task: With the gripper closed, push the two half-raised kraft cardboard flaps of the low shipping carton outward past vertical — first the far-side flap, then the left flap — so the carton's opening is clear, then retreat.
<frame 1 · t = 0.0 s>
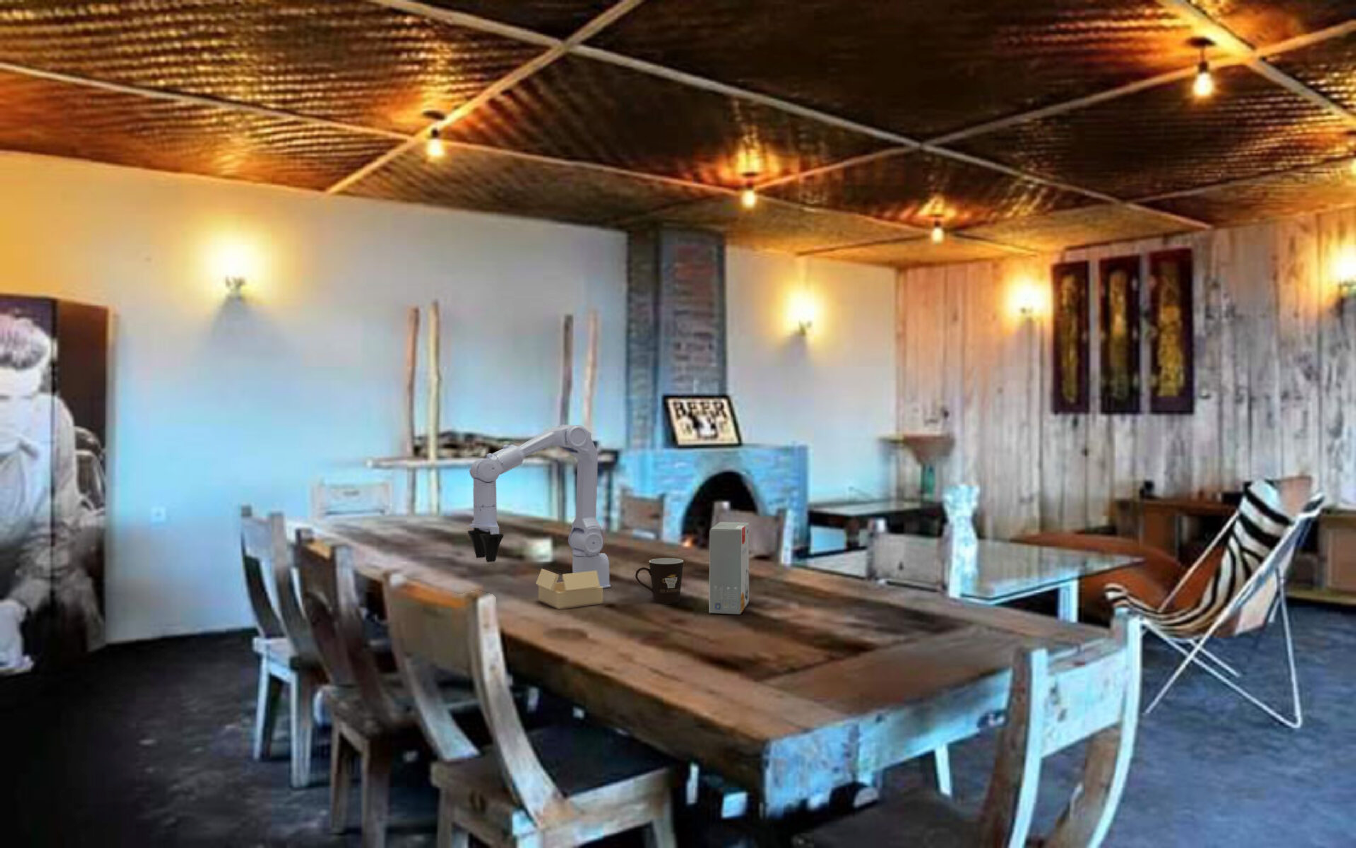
hand: (485, 559, 239), 10 cm above the table, fingers open, 7 cm apart
hard drive box: (729, 608, 227), on the table
flap far: (547, 579, 231), point 6 cm above the table, hinge at 65.0°
coffee mug: (660, 601, 235), on the table
flap left: (580, 580, 229), point 6 cm above the table, hinge at 65.0°
carton: (570, 602, 235), on the table
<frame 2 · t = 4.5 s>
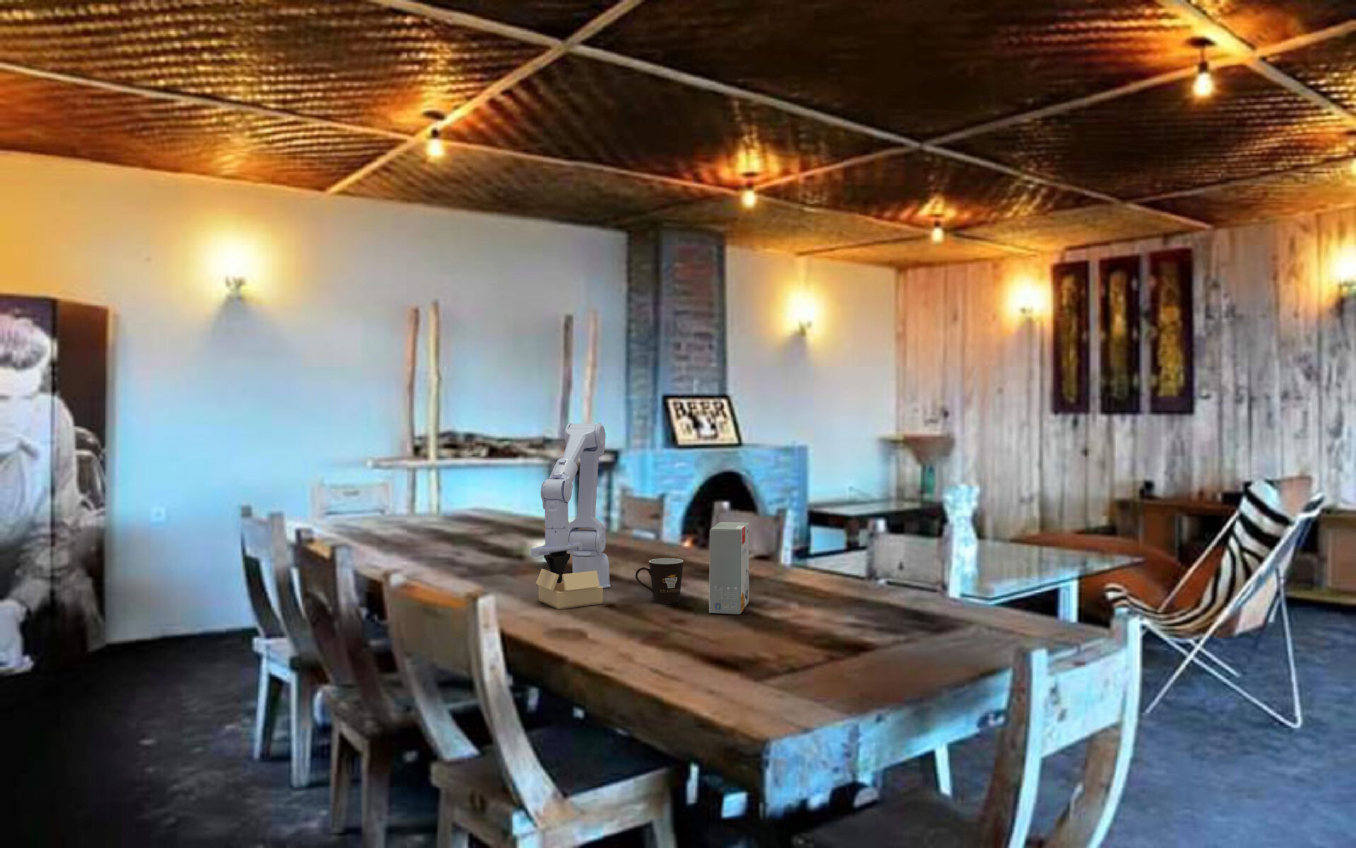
hand: (557, 582, 232), 5 cm above the table, fingers closed, pressing on flap far
flap far: (547, 579, 231), point 6 cm above the table, hinge at 65.3°, touching gripper
everything else where it was.
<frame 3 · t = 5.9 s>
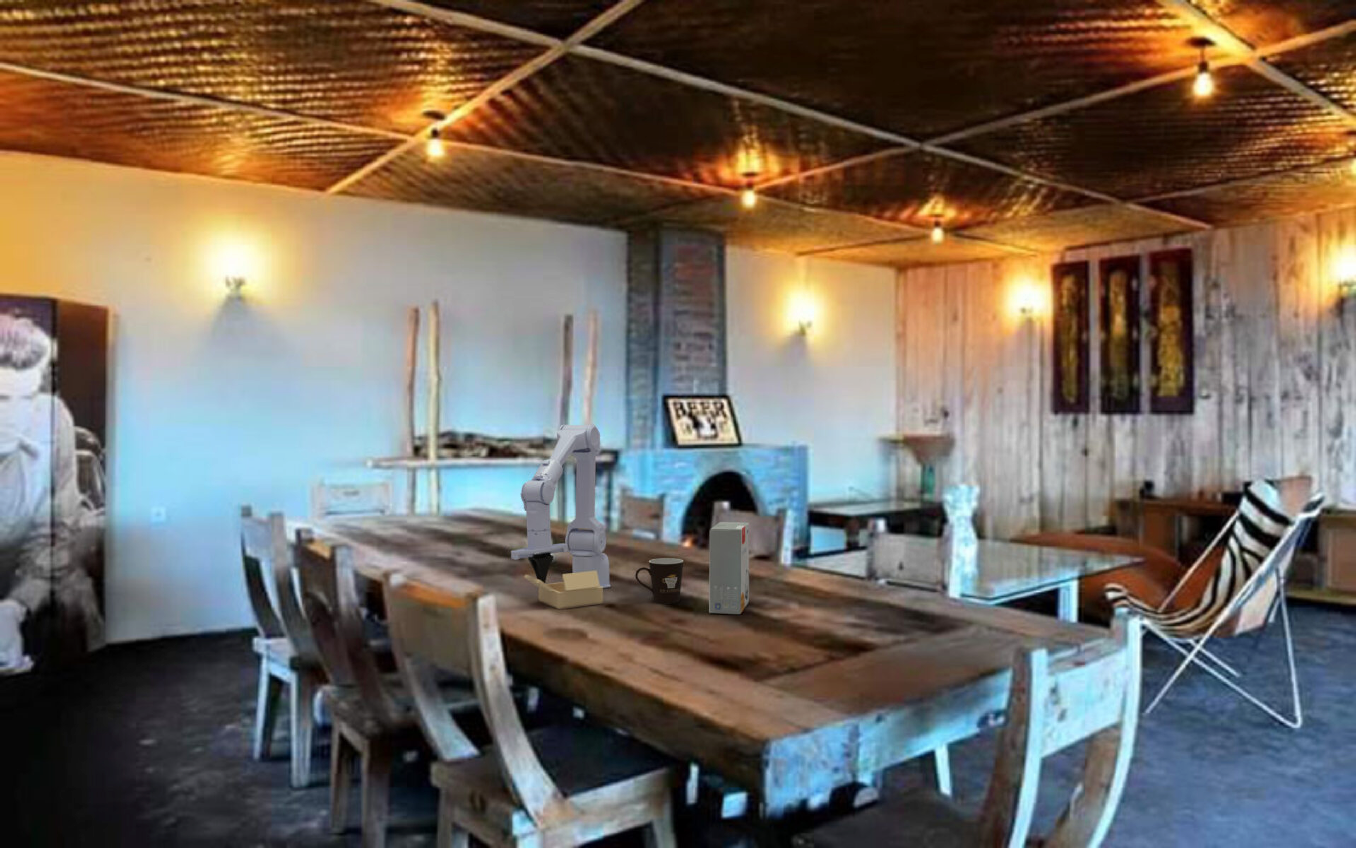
hand: (540, 584, 230), 5 cm above the table, fingers closed, pressing on flap far
flap far: (538, 582, 230), point 6 cm above the table, hinge at 142.5°, touching gripper
everything else where it was.
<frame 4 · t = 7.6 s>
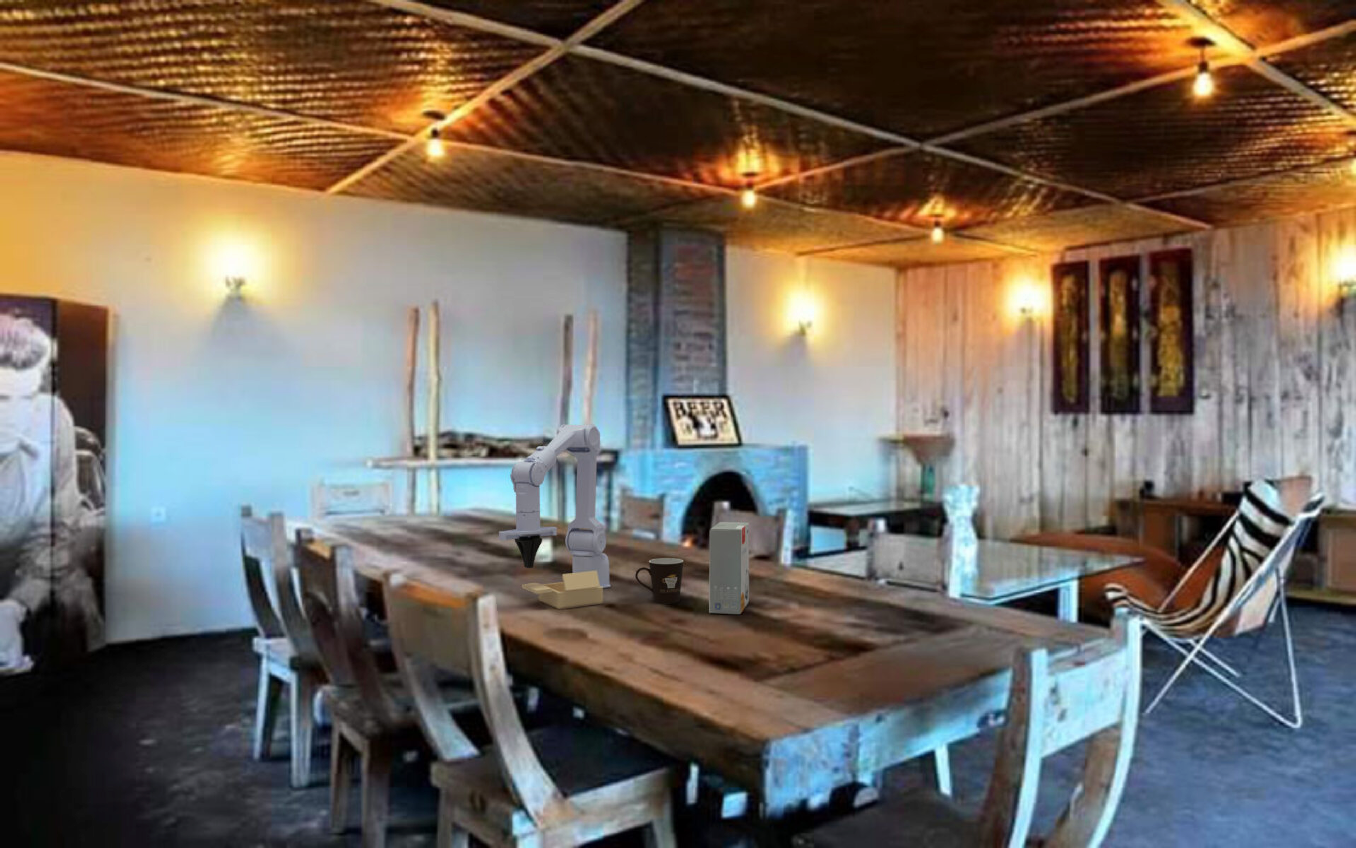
hand: (528, 567, 229), 10 cm above the table, fingers closed
flap far: (536, 588, 230), point 4 cm above the table, hinge at 180.6°
everything else where it was.
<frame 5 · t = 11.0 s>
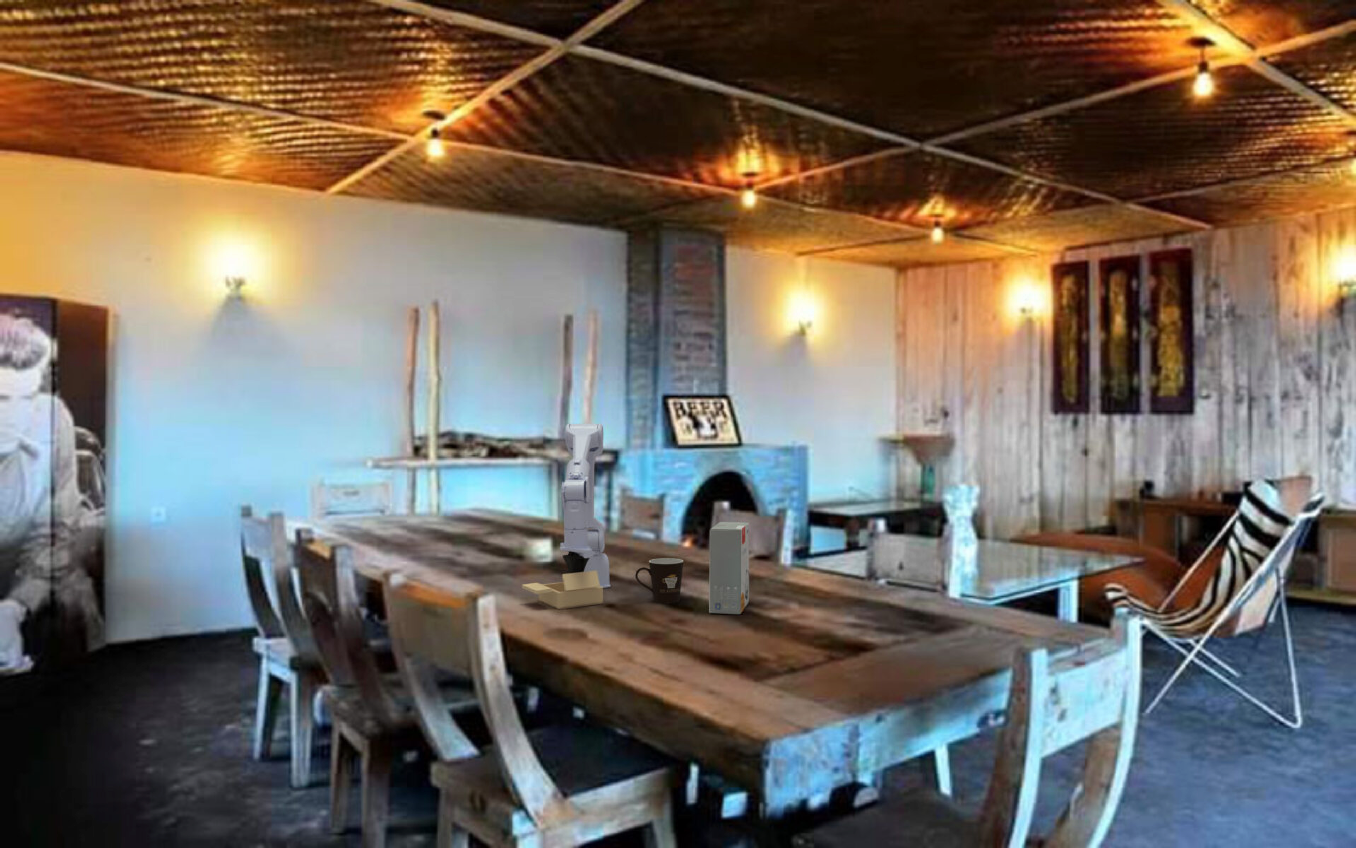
hand: (576, 583, 231), 5 cm above the table, fingers closed
flap far: (536, 588, 230), point 4 cm above the table, hinge at 181.1°
flap left: (580, 580, 229), point 6 cm above the table, hinge at 65.0°, touching gripper
everything else where it was.
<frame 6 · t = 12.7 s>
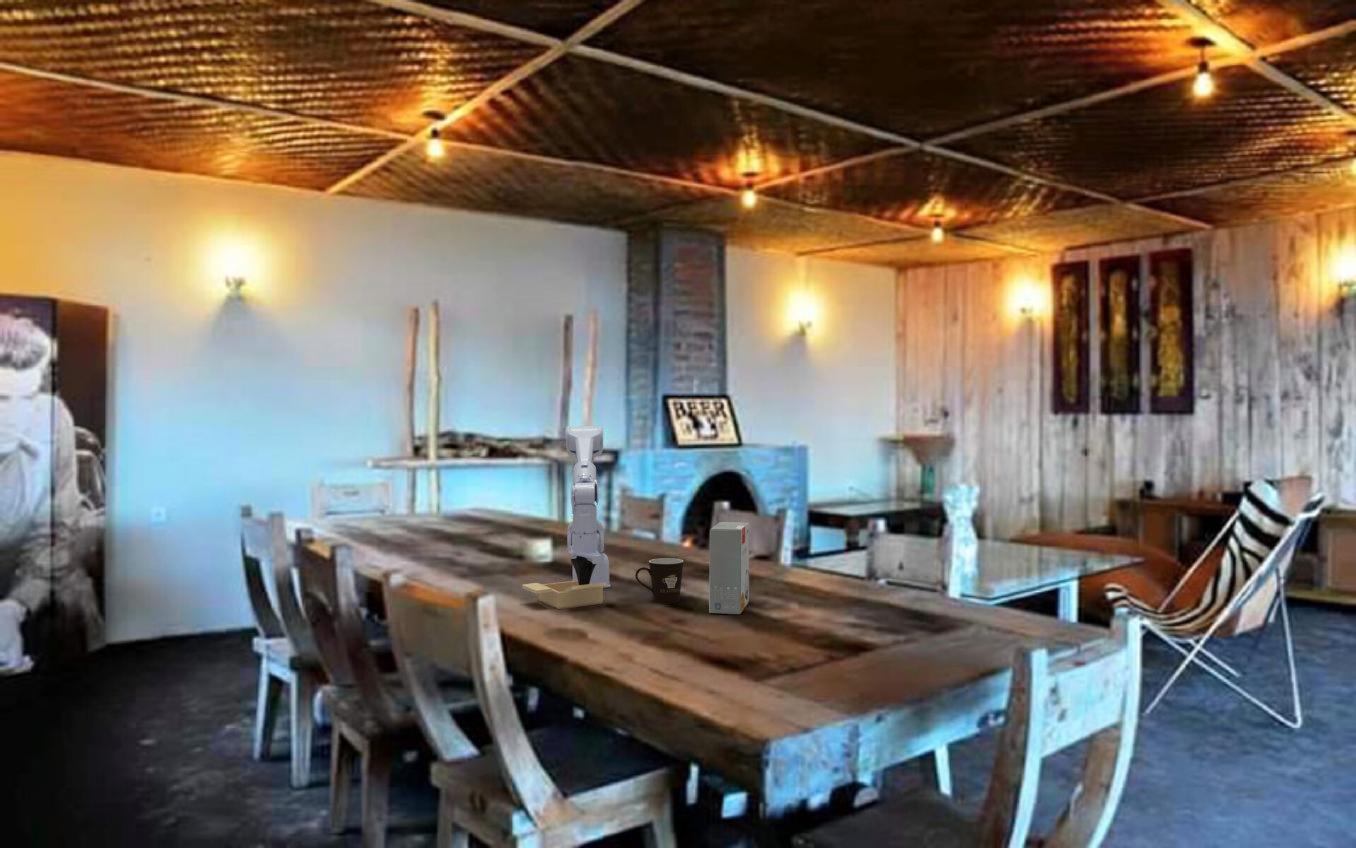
hand: (584, 588, 227), 5 cm above the table, fingers closed, pressing on flap left
flap left: (585, 587, 227), point 5 cm above the table, hinge at 161.1°, touching gripper
everything else where it was.
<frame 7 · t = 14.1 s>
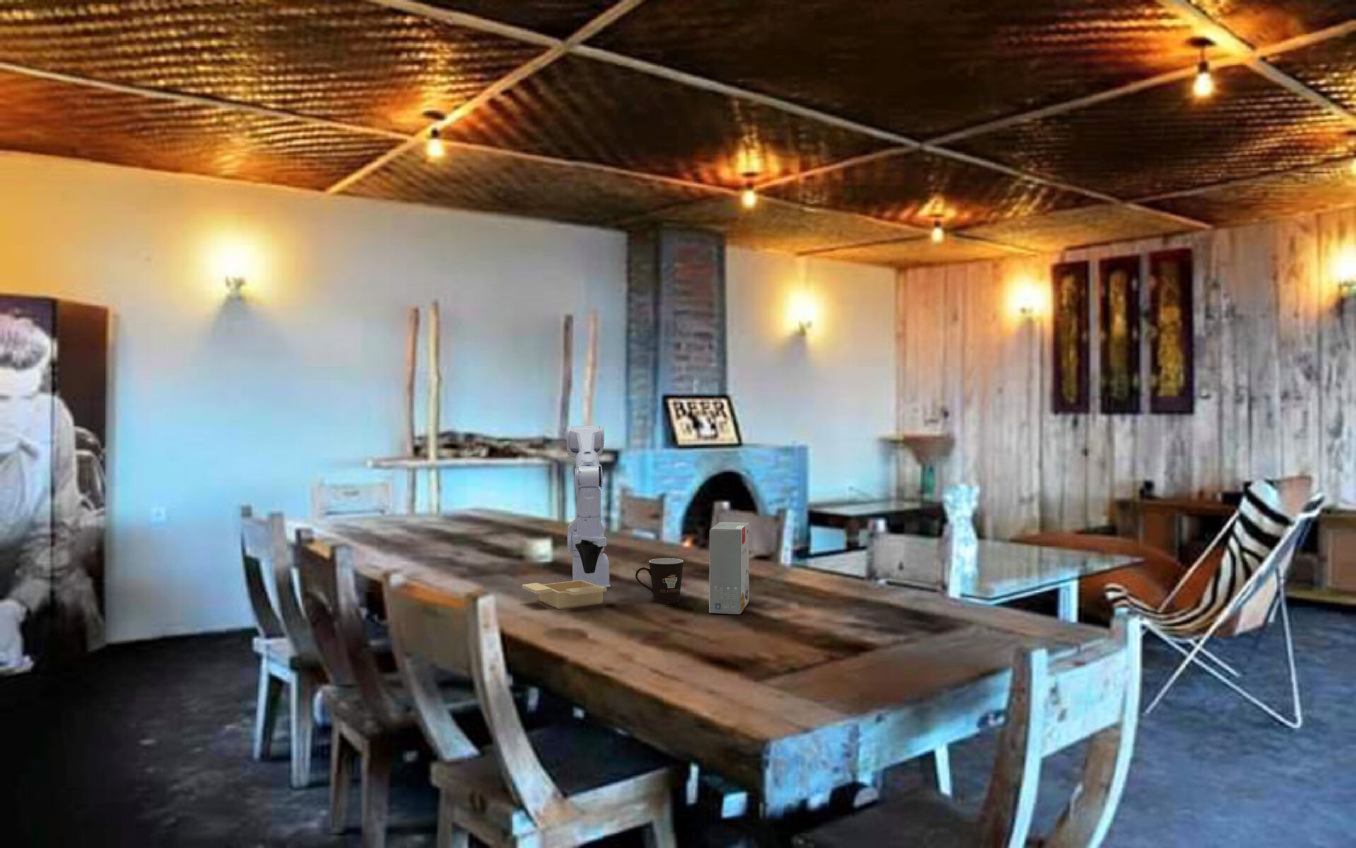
hand: (589, 572, 225), 9 cm above the table, fingers closed
flap left: (586, 590, 227), point 4 cm above the table, hinge at 180.2°
everything else where it was.
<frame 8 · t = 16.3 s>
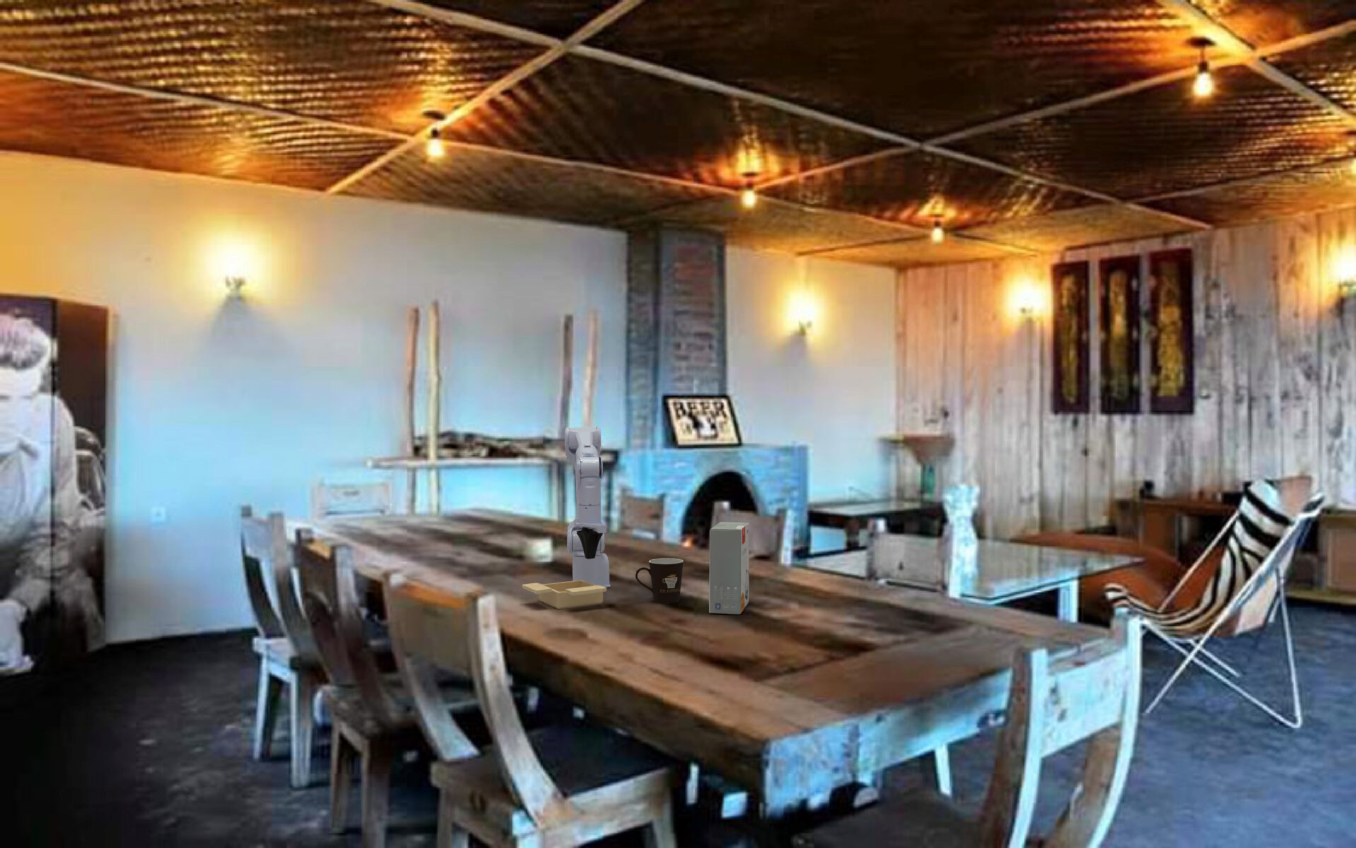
hand: (590, 558, 237), 10 cm above the table, fingers closed
flap left: (586, 590, 227), point 4 cm above the table, hinge at 180.8°
everything else where it was.
at the end: flap far at +181° (first picture: +65°); flap left at +181° (first picture: +65°) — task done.
